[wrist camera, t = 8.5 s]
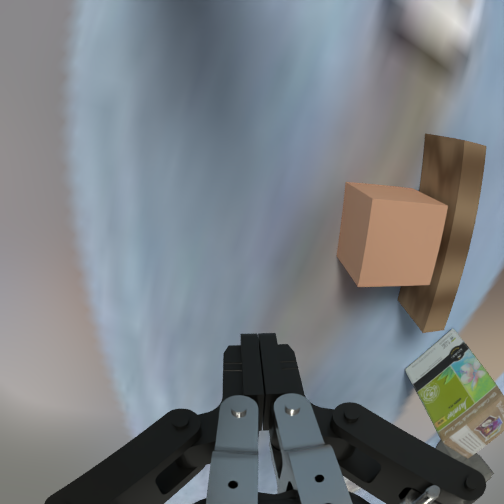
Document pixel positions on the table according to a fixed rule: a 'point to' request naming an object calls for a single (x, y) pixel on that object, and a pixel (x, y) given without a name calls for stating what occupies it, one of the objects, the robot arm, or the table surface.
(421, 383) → the tea box
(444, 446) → the coffeepot
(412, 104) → the table surface
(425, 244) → the terracotta block
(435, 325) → the walnut board
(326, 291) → the table surface
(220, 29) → the table surface
